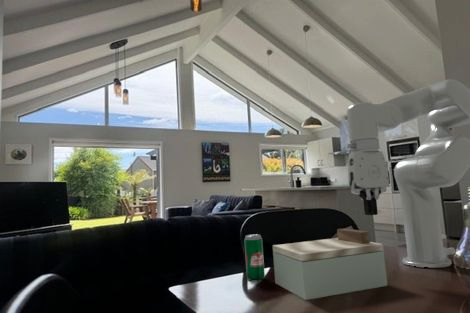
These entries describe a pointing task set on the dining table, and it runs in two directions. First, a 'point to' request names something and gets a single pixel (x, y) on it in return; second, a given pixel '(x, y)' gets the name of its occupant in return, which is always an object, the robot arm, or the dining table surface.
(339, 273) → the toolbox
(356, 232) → the lid
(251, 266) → the soda can
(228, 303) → the dining table surface
